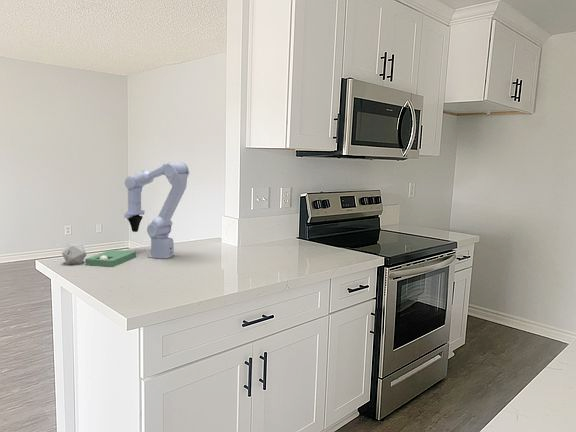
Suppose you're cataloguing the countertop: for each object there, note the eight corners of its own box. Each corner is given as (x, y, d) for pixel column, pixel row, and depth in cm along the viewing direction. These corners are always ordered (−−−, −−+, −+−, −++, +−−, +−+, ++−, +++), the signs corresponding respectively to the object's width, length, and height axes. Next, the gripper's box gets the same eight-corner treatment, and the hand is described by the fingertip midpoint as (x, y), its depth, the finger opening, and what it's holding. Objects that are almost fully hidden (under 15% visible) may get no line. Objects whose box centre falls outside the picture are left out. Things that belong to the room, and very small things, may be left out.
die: (59, 264, 190) (55, 248, 183) (76, 250, 196) (72, 234, 189) (76, 272, 188) (72, 257, 181) (91, 259, 194) (89, 243, 188)
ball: (109, 264, 190) (110, 255, 190) (105, 264, 187) (106, 256, 187) (101, 263, 190) (102, 254, 190) (97, 263, 187) (98, 255, 187)
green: (136, 257, 203) (136, 251, 203) (112, 267, 185) (112, 261, 184) (111, 255, 205) (111, 249, 205) (85, 264, 187) (85, 259, 186)
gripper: (134, 200, 217) (135, 228, 219) (118, 203, 203) (118, 233, 205) (148, 201, 216) (148, 229, 217) (132, 204, 201) (133, 234, 203)
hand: (135, 231), depth 211 cm, fingers closed
